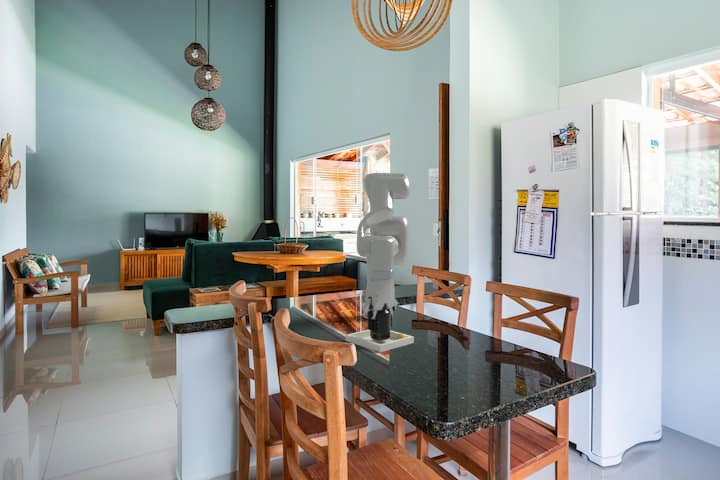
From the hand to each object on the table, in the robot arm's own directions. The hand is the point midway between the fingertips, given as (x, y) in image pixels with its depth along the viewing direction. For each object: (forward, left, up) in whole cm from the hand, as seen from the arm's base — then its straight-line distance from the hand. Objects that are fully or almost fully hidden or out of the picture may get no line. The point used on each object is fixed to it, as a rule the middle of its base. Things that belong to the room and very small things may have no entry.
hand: (380, 328), depth 150 cm
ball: (-5, +5, -5) cm, 8 cm away
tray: (0, 0, -6) cm, 6 cm away
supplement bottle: (0, 0, -4) cm, 4 cm away
